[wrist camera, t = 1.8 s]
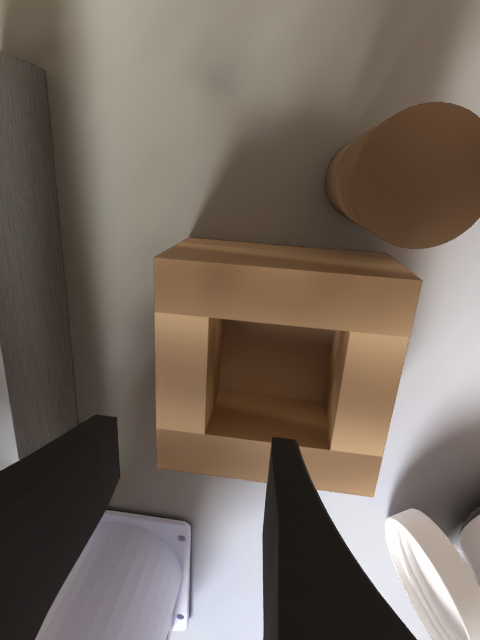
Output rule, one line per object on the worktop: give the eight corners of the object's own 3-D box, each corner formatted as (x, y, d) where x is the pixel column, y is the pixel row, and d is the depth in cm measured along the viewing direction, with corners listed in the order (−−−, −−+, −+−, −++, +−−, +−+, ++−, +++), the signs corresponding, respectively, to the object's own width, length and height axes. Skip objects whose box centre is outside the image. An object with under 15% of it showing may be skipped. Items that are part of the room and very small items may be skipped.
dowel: (395, 221, 17) (478, 254, 10) (320, 215, 17) (344, 243, 10) (411, 140, 16) (517, 105, 8) (330, 136, 16) (366, 98, 9)
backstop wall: (83, 484, 24) (34, 557, 20) (53, 479, 24) (-4, 551, 20) (45, 70, 17) (-51, 28, 12) (0, 68, 17) (-111, 26, 12)
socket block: (354, 425, 21) (373, 497, 16) (185, 404, 21) (156, 467, 17) (387, 253, 18) (422, 280, 13) (188, 237, 18) (153, 257, 14)
